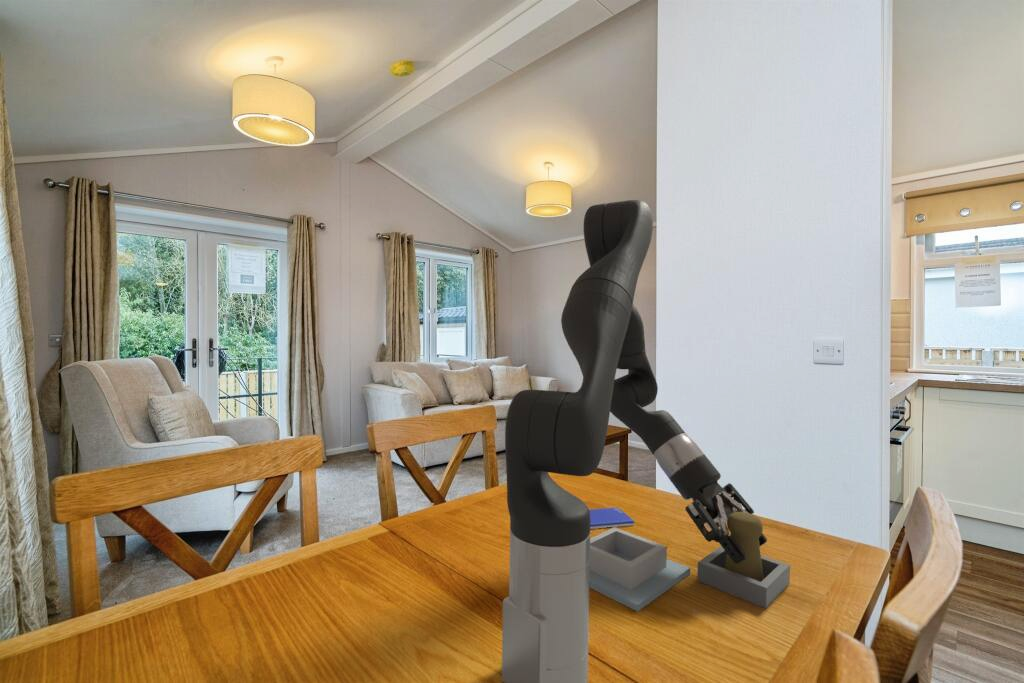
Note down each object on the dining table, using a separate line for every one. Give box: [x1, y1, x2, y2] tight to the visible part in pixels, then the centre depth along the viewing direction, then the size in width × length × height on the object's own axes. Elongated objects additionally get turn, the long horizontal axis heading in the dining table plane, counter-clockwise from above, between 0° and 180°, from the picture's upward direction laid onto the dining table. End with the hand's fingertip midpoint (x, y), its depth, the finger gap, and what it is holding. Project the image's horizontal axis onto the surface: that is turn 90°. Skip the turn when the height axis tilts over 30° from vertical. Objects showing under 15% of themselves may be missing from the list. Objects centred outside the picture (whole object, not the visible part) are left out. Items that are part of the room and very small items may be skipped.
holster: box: [696, 545, 791, 609], centre depth 77 cm, size 10×10×3 cm
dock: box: [589, 527, 691, 612], centre depth 80 cm, size 16×16×4 cm
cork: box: [724, 512, 765, 582], centre depth 77 cm, size 6×6×11 cm
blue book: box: [589, 507, 635, 530], centre depth 102 cm, size 2×8×12 cm
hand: (752, 552), depth 76 cm, fingers open, 8 cm apart
